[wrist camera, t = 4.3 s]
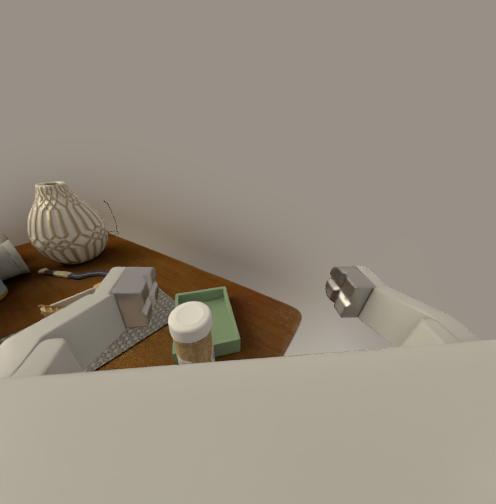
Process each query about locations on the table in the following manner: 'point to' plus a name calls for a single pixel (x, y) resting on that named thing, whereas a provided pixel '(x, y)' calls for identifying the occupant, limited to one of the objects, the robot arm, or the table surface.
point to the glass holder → (11, 262)
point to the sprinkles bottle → (192, 332)
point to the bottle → (3, 290)
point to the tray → (215, 319)
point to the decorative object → (3, 238)
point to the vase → (65, 225)
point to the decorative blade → (72, 275)
